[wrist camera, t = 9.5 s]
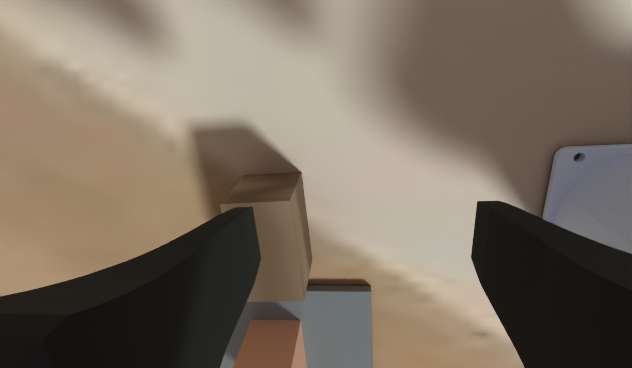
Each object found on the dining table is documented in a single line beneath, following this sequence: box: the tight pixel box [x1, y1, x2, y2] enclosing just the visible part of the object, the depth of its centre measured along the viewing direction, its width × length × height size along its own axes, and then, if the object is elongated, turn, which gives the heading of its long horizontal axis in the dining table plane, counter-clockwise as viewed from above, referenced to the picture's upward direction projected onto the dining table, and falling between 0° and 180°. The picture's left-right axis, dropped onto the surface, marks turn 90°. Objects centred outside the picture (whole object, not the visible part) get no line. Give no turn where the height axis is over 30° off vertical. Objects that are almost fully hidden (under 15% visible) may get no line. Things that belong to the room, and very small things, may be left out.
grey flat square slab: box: [220, 285, 373, 368], centre depth 25 cm, size 13×12×1 cm
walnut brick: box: [219, 172, 312, 302], centre depth 19 cm, size 4×6×4 cm, turn 6°
